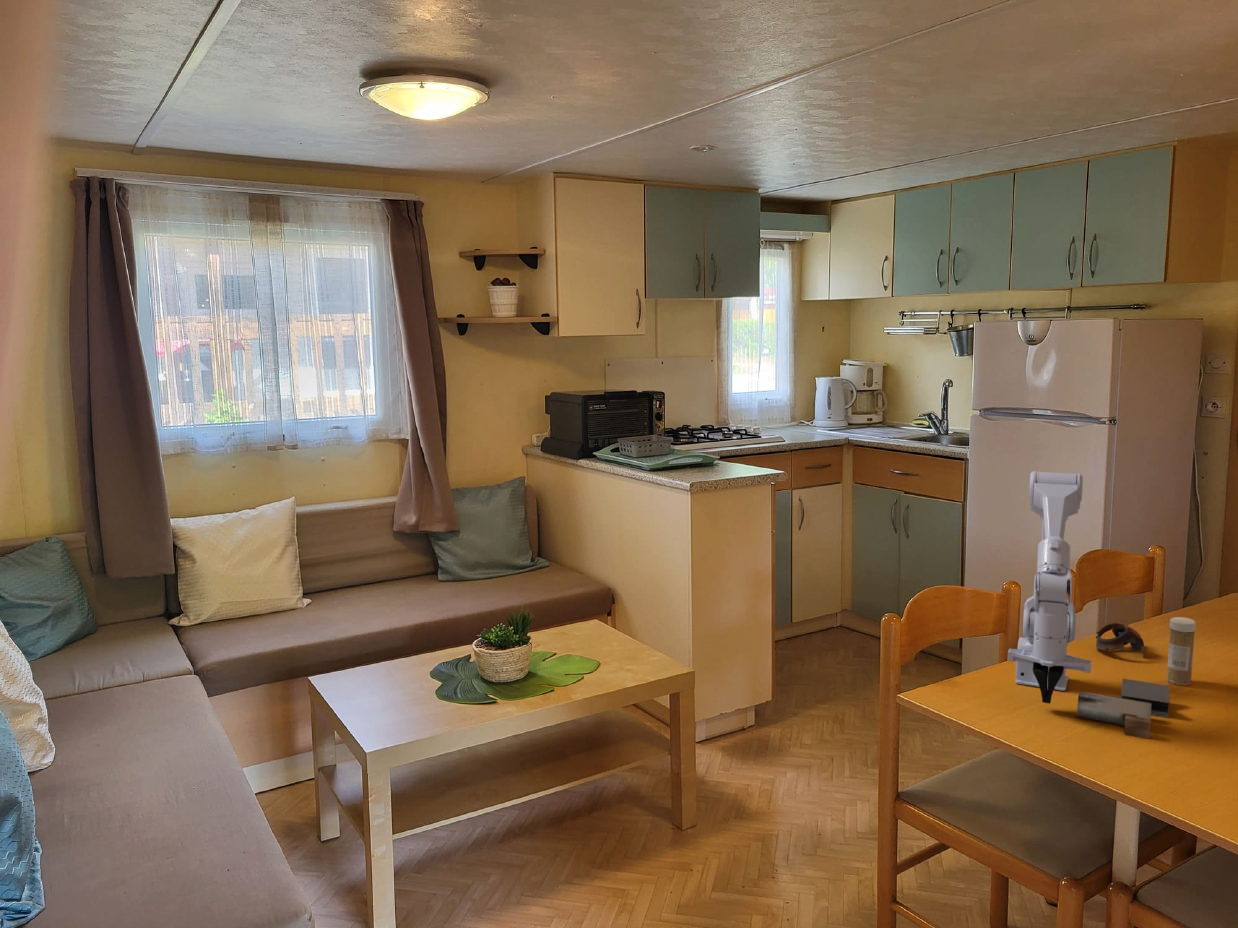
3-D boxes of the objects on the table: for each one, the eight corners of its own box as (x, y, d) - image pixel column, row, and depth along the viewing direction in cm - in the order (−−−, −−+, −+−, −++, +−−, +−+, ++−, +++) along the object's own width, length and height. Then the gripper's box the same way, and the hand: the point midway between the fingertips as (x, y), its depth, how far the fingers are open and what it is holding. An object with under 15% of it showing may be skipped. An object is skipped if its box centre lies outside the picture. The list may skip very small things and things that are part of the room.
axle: (1076, 719, 176) (1078, 695, 175) (1078, 713, 180) (1080, 688, 180) (1149, 732, 170) (1151, 707, 170) (1149, 725, 174) (1151, 700, 174)
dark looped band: (1151, 666, 203) (1135, 635, 201) (1107, 677, 208) (1090, 647, 206) (1146, 635, 213) (1131, 606, 211) (1104, 646, 218) (1088, 618, 216)
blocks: (1124, 734, 170) (1125, 718, 169) (1125, 713, 178) (1126, 699, 178) (1149, 738, 168) (1150, 723, 167) (1149, 717, 176) (1150, 702, 176)
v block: (1120, 709, 180) (1121, 690, 179) (1121, 695, 187) (1122, 677, 186) (1168, 717, 176) (1169, 698, 175) (1167, 702, 183) (1169, 684, 182)
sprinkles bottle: (1195, 682, 192) (1200, 620, 190) (1184, 688, 189) (1189, 624, 187) (1172, 676, 196) (1177, 614, 193) (1161, 681, 193) (1165, 619, 191)
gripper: (1006, 634, 178) (1003, 701, 180) (1091, 646, 171) (1087, 716, 173) (1011, 623, 184) (1008, 688, 186) (1093, 634, 177) (1089, 702, 179)
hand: (1046, 701), depth 180 cm, fingers closed
